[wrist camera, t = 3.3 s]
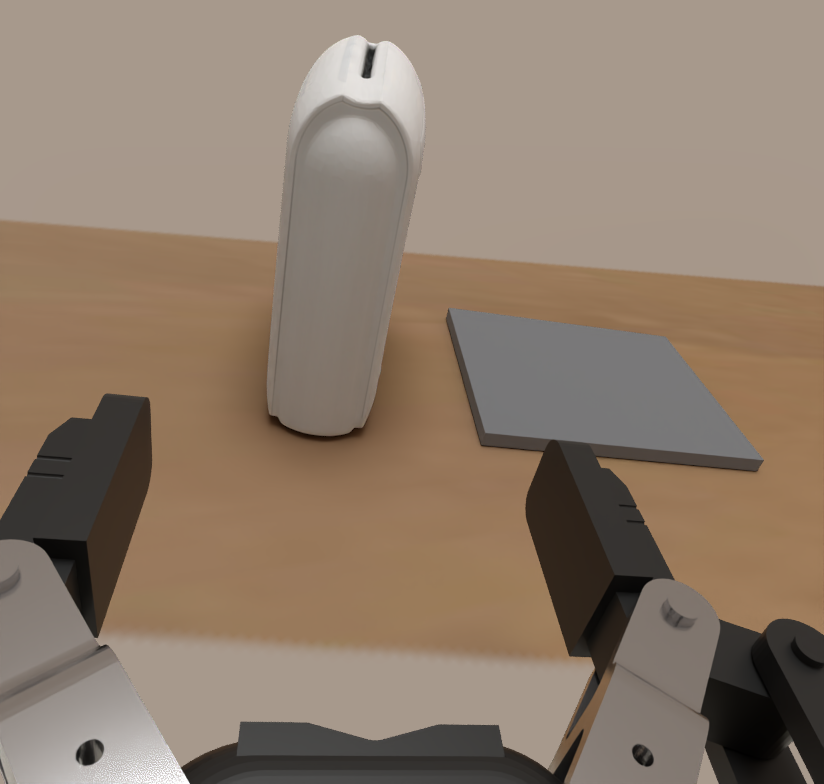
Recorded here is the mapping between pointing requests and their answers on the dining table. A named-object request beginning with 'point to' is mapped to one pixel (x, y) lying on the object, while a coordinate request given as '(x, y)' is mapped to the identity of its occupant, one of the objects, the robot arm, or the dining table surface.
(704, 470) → the dining table surface
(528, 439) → the rubber mat
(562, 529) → the robot arm
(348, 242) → the photo printer
